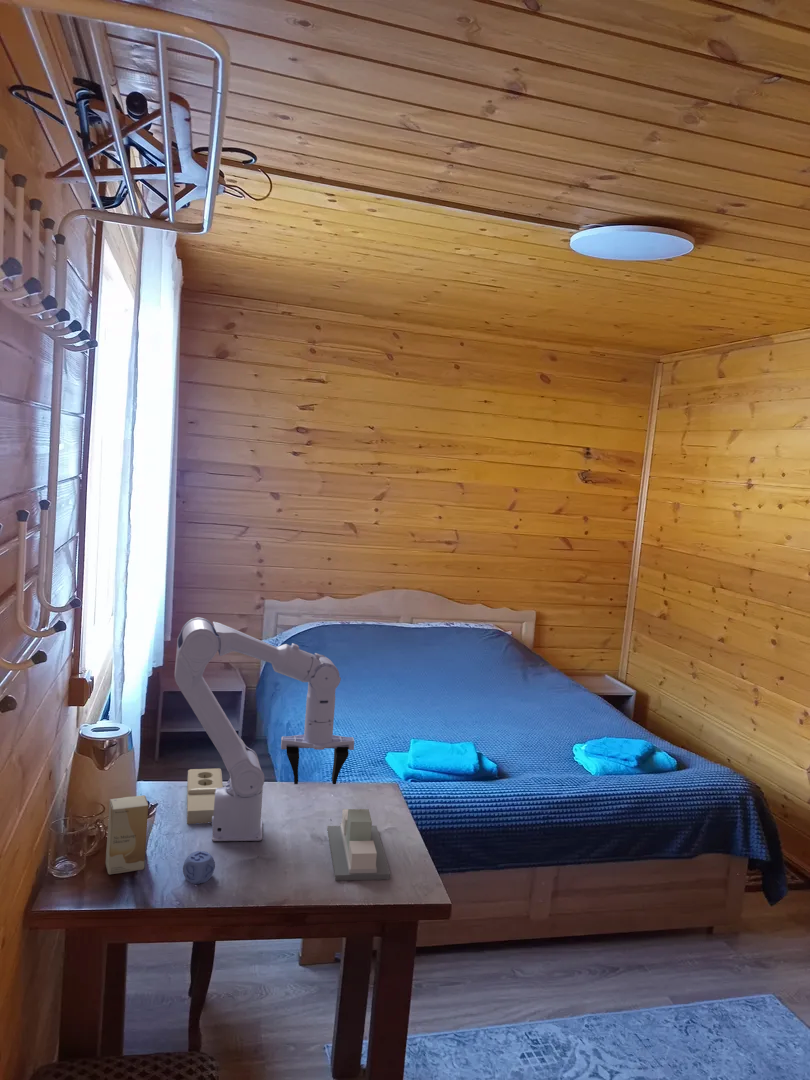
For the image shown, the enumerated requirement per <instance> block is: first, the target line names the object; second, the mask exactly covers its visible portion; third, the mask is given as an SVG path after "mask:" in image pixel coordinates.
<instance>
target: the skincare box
mask: <svg viewBox="0 0 810 1080" xmlns="http://www.w3.org/2000/svg"><path fill="white" fill-rule="evenodd" d="M148 814H149V803H148V799H147V796H146V795H135V796H124V797H119V798H118V797H117V798H116V797H115V798H109V804H108V823H107V832H106V833H107V834H106V835H107V836H106V837H107V838H106V852H105V867H106V871H107V874H108V875H114V874H122V873H130V872H134V871H135V872H136V871H142V870H144V869H145V860H146V849H147V848H146V847H147V846H146V845H147V834H148V833H147V831H148V830H147V829H148Z"/></svg>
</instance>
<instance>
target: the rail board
mask: <svg viewBox="0 0 810 1080" xmlns="http://www.w3.org/2000/svg"><path fill="white" fill-rule="evenodd" d="M348 809H349V808H348ZM348 809H344V808H343V809H342V813H341V814H342V815H341V823H340V825H328V826H327V831H328V832H327V837H328V843H329V849H330V855H331V862H332V863H331V864H332V869H333V876H334V881H368V880H369V881H371V880H374V881H375V880H378V881H379V880H391V872H390V869H389V865H388V860H387V857H386V854H385V851H384V847H383V842H382V840H381V837H380V836H381V835H380V833H379V829H378V827H377V826H378V825H372V827H371V840H370V841H349V852H348V847H347V841H346V831H347V818H348Z"/></svg>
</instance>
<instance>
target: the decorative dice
mask: <svg viewBox="0 0 810 1080" xmlns="http://www.w3.org/2000/svg"><path fill="white" fill-rule="evenodd" d="M182 865H183V866H182V873H183V876H184V878H185V880H186V881H188V882H189V883H191V884H196V885H199V884H200V883H201V884H204V883H206V882H207V881H209V880H210V879H211V878H212V876H213V874H214V871H215V868H216V862H215V860H214V857H213V855H212V854H210V853H209V852H207V851H204V850H197V851H194V852H191V853H190V854H188V855H187V856H186V858H185V861H184V863H183V864H182Z"/></svg>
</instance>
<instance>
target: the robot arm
mask: <svg viewBox="0 0 810 1080" xmlns="http://www.w3.org/2000/svg"><path fill="white" fill-rule="evenodd" d="M176 640H177V641H176V654H175V663H174V664H175V665H174V675H173V676H174V681H175V683H176V685H177V686H178V688H179V691H180V692H181V693H182V695H183V697H184V698H185V700H186V702H187V703H188V705H189V706H190V708H191V709H192V712H193V713H194V715H195V716H196V718H197V719H198V722H199V723H200V724H201V726H202V728H203V729H204V730H205V732H206V734H207V735H208V737H209V739H210V741H211V742H212V743H213V745H214V747H215V748H216V750H217V752H218V753H219V755H220V758H221V759H222V761H223V764H224V766H225V768H226V770H227V772H228V774H229V779H228V780H227V783H226V784H225V786H223V787H222V788H216V790H215V801H214V816H212V823H211V826H212V836H211V837H212V839H211V840H212V841H213V842H239V841H241V842H243V841H244V842H247V841H248V842H249V841H255V842H257V841H258V842H259V841H262V840H263V819H262V807H263V793H264V792H263V790H264V789H263V787H264V784H265V774H264V771H263V770H262V768H261V765H260V762H259V761H260V760H259V757H258V754H257V753H256V751H255V750H253V749H252V748H249V747H248V746H247V745H246V744H245V742H244V741H243V739H242V738H241V737H240V736H239V735H238V733H237V731H236V730H235V728H234V726H233V724H232V723H231V721H230V719H229V718H228V716H227V714H226V713H225V711H224V709H223V708H222V706H221V705H220V703H219V702H218V699H217V697H216V696H215V695H214V693H213V691H212V689H211V687H210V686H209V685H208V683H207V681H206V679H205V677H204V676H203V675H204V672H205V670H206V667H207V665H208V664H209V663H210V662H211V660H213V659H214V657H215V656H216V654H217V653H218V655H219V657H223V656H225V655H227V654H230V653H233V652H236V653H239V654H241V655H245V656H247V657H251V658H254V659H256V660H260V661H263V662H266V663H269V664H271V666H272V669H273V671H274V672H275V673H278V674H281V675H283V676H287V677H289V678H291V679H294V680H297V681H300V682H302V683H307V694H306V701H305V703H306V704H305V717H304V729H303V731H304V732H303V733H304V734H296V735H289V736H281V742H280V749H281V750H286V756H287V760H288V761H289V764H290V766H291V769H292V773H293V774H292V775H293V784H294V785H298V784H299V765H300V763H299V762H300V749H314V750H319V751H320V750H325V749H333V767H332V773H331V783H332V785H336V784H337V782H338V778H339V775H340V771H341V770H342V768H343V765H344V764H345V762H346V761H347V760H348V757H349V753H350V752H349V751H354V749H355V739H354V737H353V736H341V735H336V734H335V735H334V734H333V733H334V720H335V708H336V690H337V688H338V686H339V685H340V683H341V681H342V678H341V677H340V672H339V670H338V668H337V666H336V665H335V664H334V662H333V661H332V660H331V659H330V658H328V657H327V656H326V655H324V654H319V653H317V652H314V654H313V653H312V652H311V653H310V652H307V651H305V650H304V649H300V646H299V645H298V644H296V643H293V642H292V643H291V645H290V644H287V643H284V644H281V645H280V646H275V645H272V644H270V643H268V642H265V641H263V640H262V639H261V640H260V639H258V638H257V637H253V636H251V635H249V634H246V633H245V632H242V631H241V630H237V629H236V628H233V627H231V626H228V625H225V624H223V623H220V622H216V621H212V622H211V621H210V620H208V619H207V618H205V617H204V618H203V617H194V618H191V619H190V620H188V621H186V623H185V624H184V625H183V626H182V627H181V631H180V633H179V634H178V636H177V639H176Z"/></svg>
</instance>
